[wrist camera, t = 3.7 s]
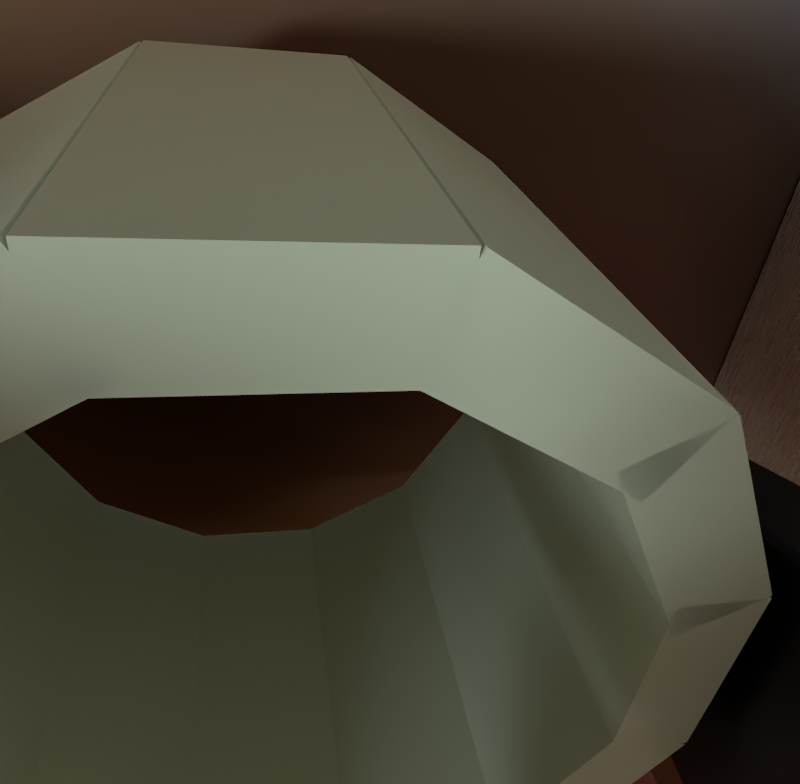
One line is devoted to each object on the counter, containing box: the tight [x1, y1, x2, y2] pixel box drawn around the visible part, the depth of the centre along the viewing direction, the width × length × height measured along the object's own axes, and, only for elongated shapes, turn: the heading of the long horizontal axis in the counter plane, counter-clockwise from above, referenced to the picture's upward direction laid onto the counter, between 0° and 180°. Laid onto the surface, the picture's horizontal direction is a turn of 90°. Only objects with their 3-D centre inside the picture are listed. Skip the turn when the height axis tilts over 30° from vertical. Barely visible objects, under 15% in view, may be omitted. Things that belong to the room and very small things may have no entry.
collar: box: [0, 40, 772, 784], centre depth 7 cm, size 8×8×5 cm
